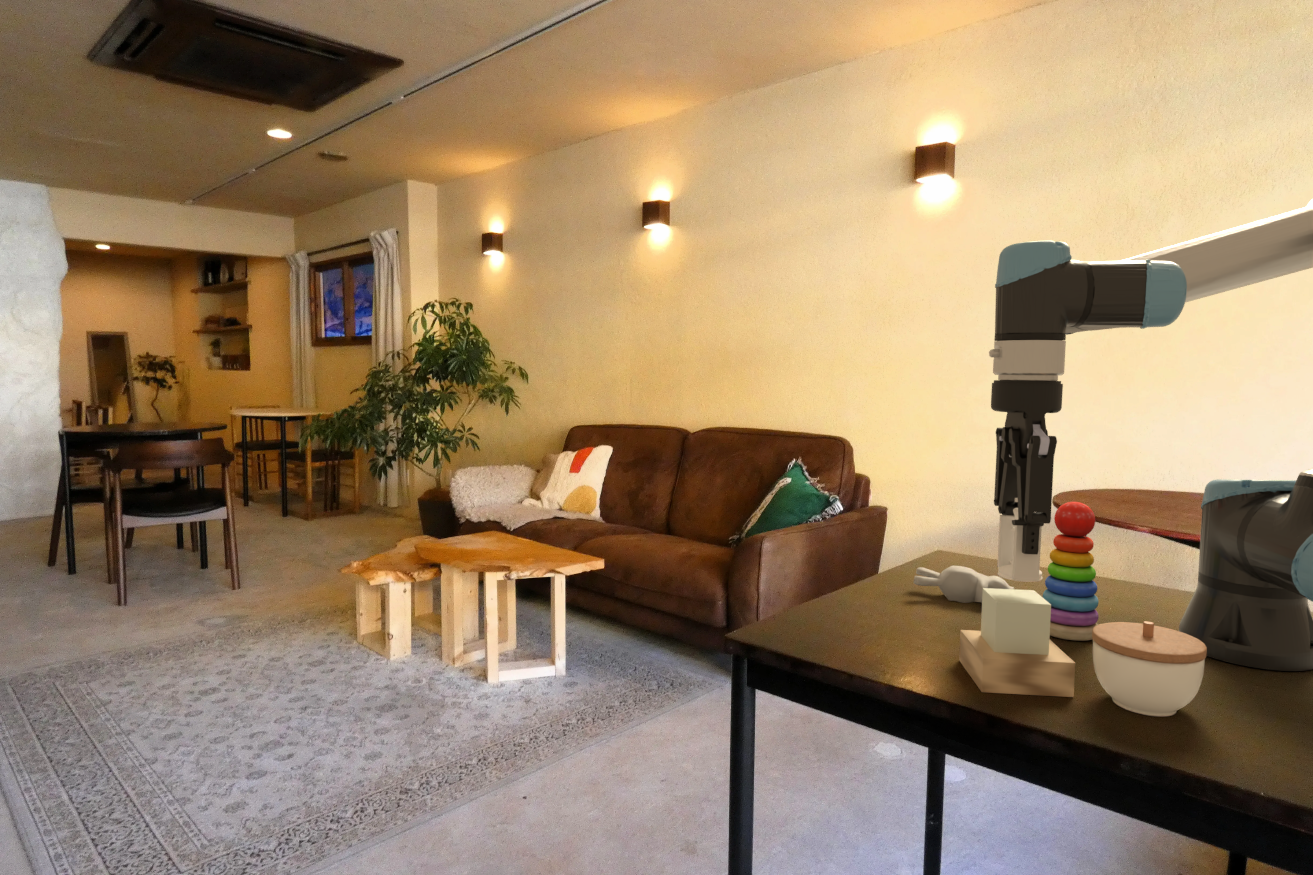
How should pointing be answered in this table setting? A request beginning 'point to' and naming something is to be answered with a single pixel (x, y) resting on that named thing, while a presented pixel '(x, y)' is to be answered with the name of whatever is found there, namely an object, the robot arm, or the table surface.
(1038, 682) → the plinth
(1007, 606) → the cube
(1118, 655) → the lidded jar
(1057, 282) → the robot arm
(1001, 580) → the bunny figurine
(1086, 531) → the stacking toy
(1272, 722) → the table surface
